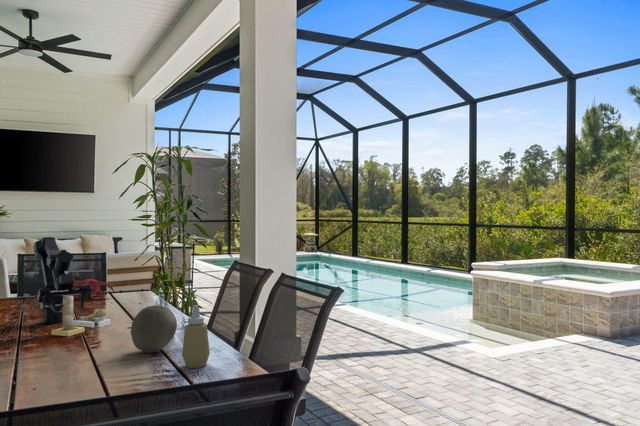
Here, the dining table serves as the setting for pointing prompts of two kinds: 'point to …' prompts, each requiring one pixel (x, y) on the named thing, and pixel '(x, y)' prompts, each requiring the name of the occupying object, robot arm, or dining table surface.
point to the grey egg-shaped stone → (153, 328)
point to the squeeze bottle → (195, 341)
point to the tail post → (68, 313)
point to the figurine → (93, 316)
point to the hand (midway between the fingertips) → (69, 310)
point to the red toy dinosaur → (93, 285)
